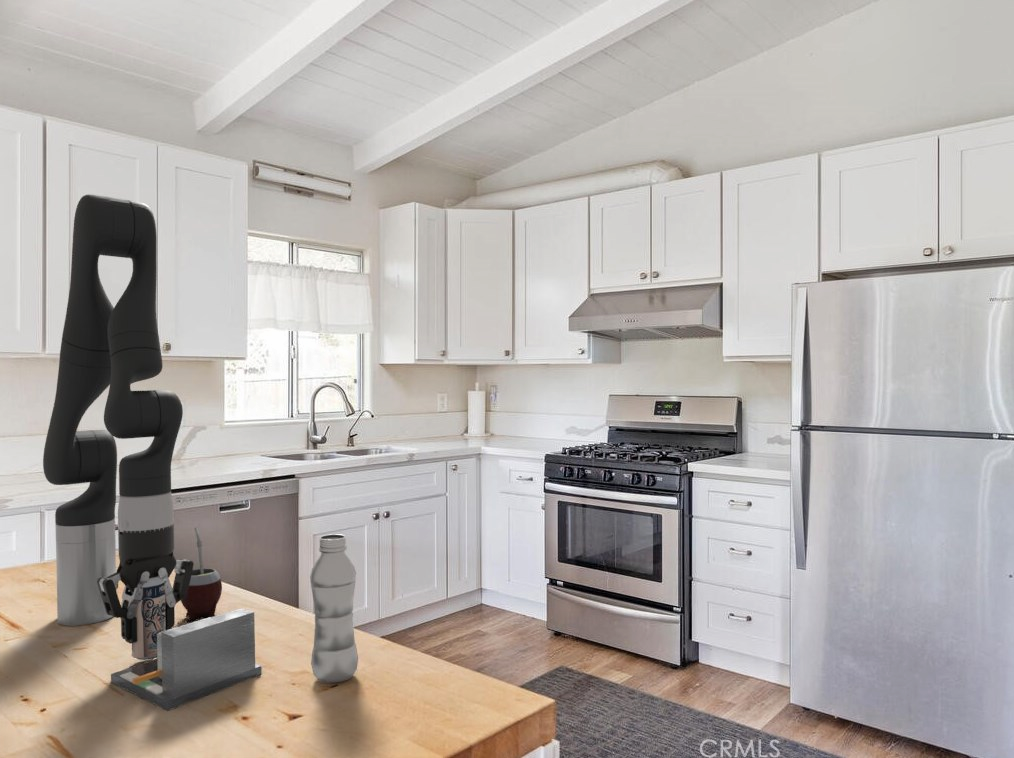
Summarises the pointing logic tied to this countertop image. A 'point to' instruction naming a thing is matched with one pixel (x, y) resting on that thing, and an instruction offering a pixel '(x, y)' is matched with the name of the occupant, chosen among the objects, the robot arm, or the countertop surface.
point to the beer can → (149, 619)
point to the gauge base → (197, 660)
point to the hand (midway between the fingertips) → (148, 636)
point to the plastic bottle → (333, 612)
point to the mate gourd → (202, 590)
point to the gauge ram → (159, 660)
